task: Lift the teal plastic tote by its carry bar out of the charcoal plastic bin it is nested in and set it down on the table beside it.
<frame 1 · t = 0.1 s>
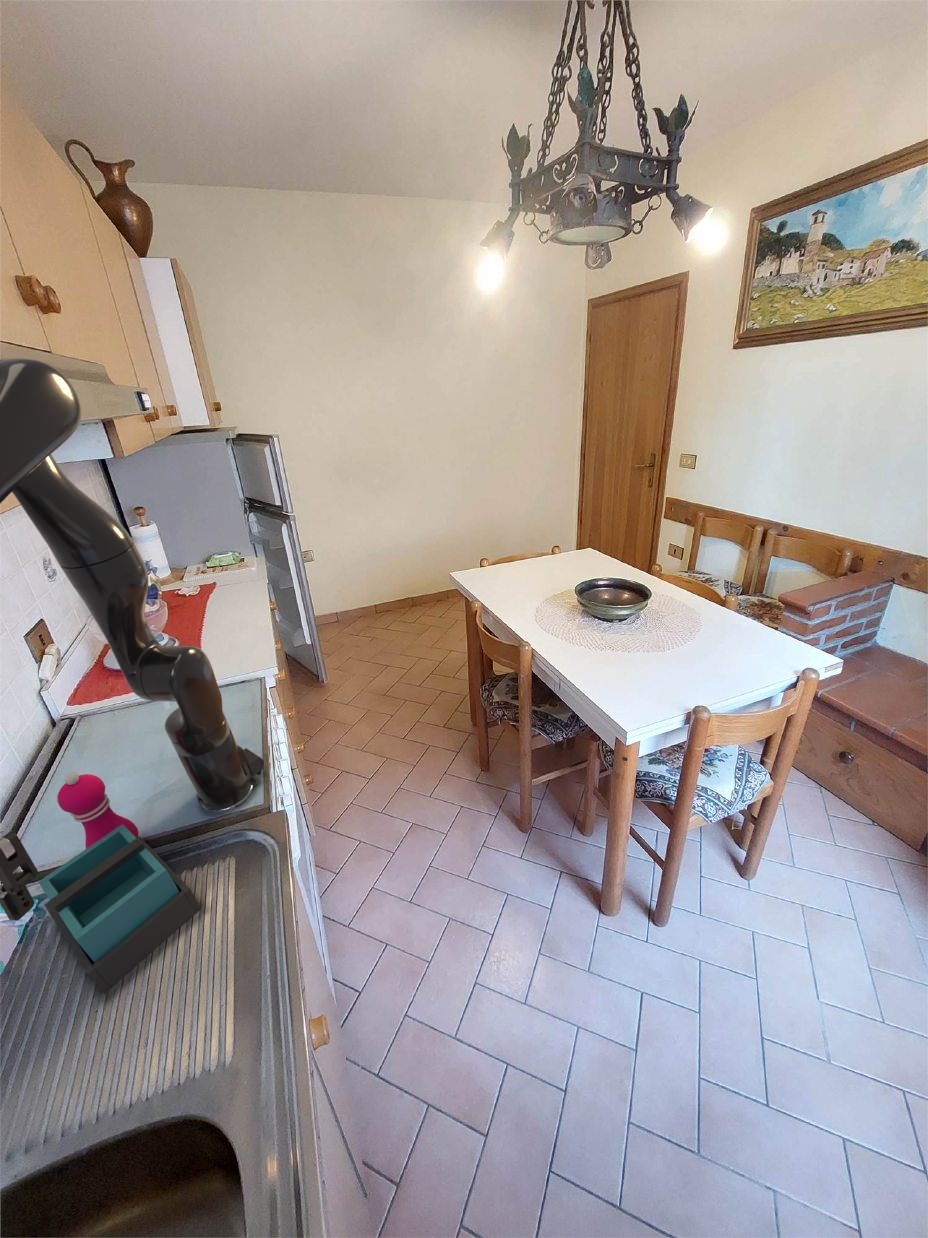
teal tote: (131, 916, 75), point 1 cm above the worktop, touching charcoal bin
charcoal bin: (133, 919, 75), on the worktop
pepper mill: (124, 858, 85), on the worktop
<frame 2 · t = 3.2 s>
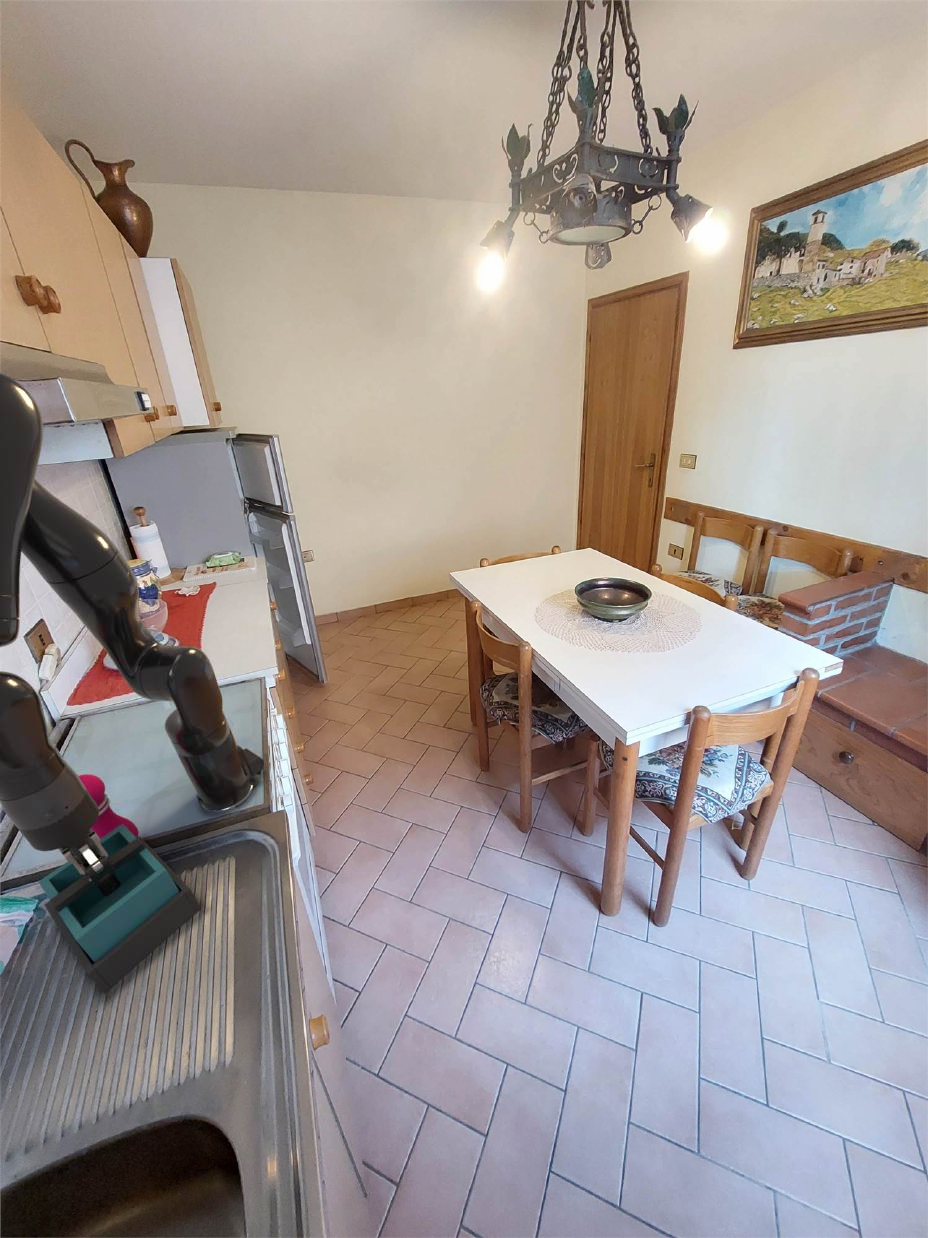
hand: (109, 885, 71), 8 cm above the worktop, tool pointing down, fingers closed on teal tote
teal tote: (131, 916, 75), point 1 cm above the worktop, touching charcoal bin, gripper
everything else where it was.
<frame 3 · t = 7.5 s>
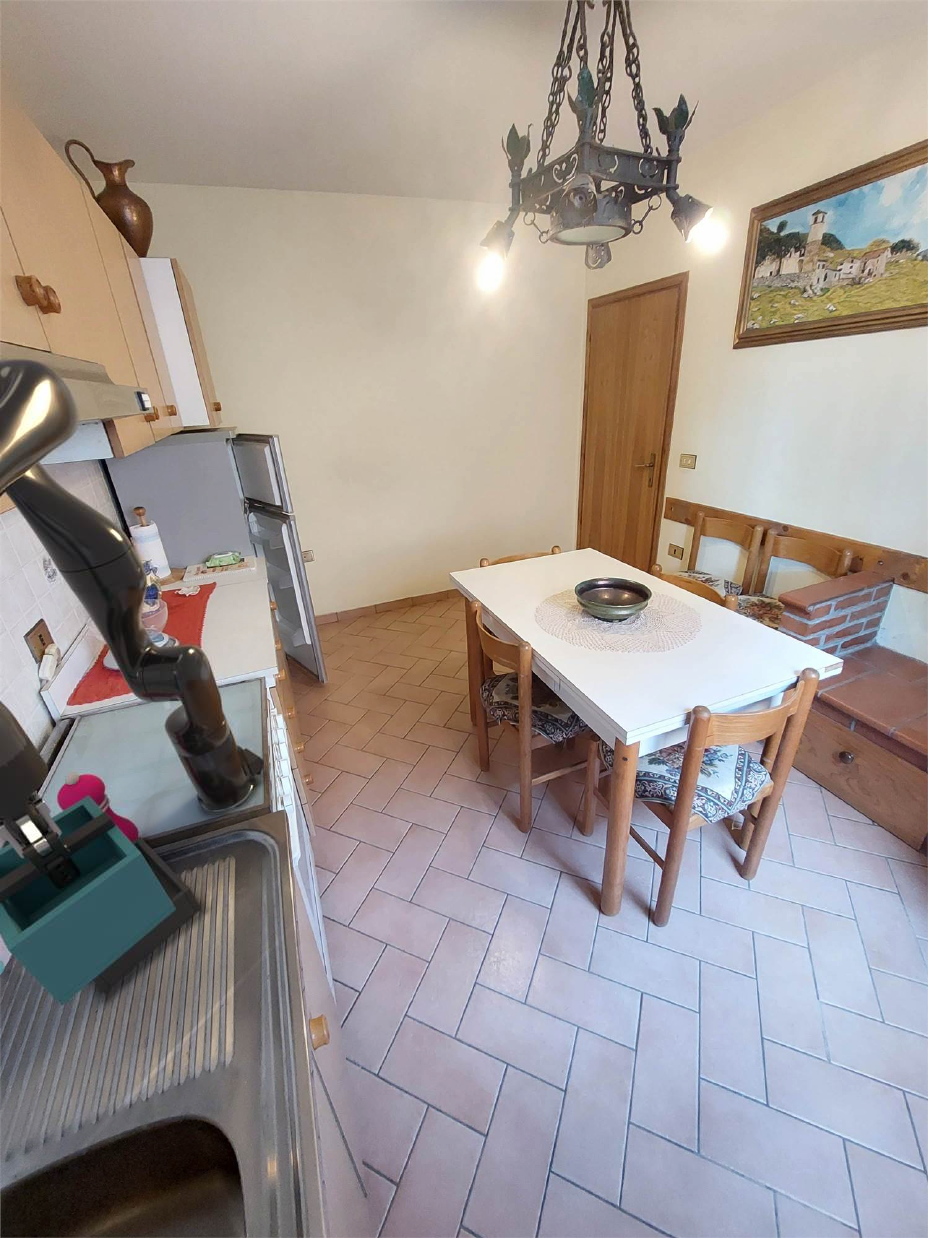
hand: (65, 874, 53), 26 cm above the worktop, tool pointing down, fingers closed on teal tote
teal tote: (96, 916, 56), point 19 cm above the worktop, touching gripper
everything else where it was.
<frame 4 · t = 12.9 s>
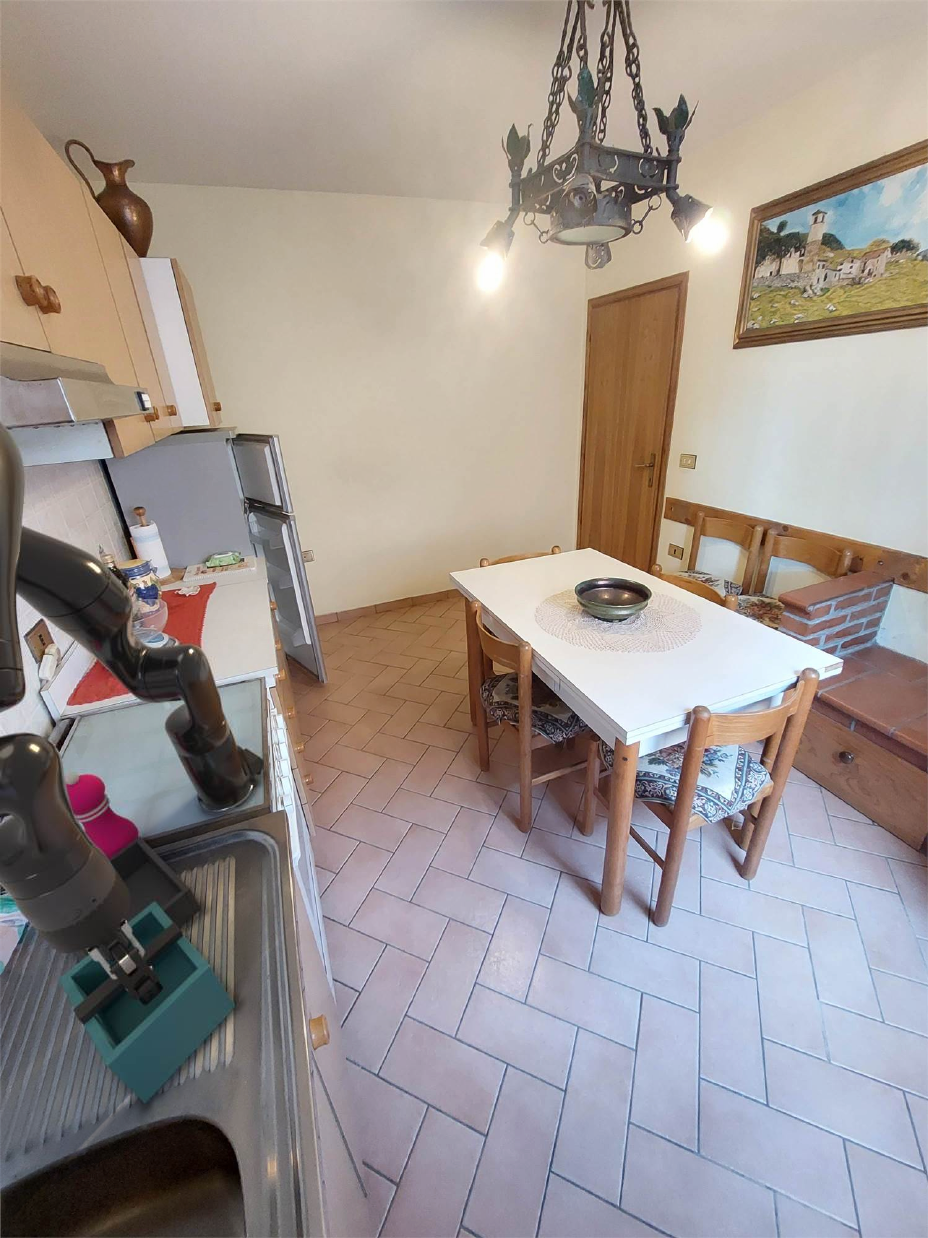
hand: (136, 973, 59), 10 cm above the worktop, tool pointing down, fingers open, 8 cm apart
teal tote: (165, 1013, 64), on the worktop
everything else where it was.
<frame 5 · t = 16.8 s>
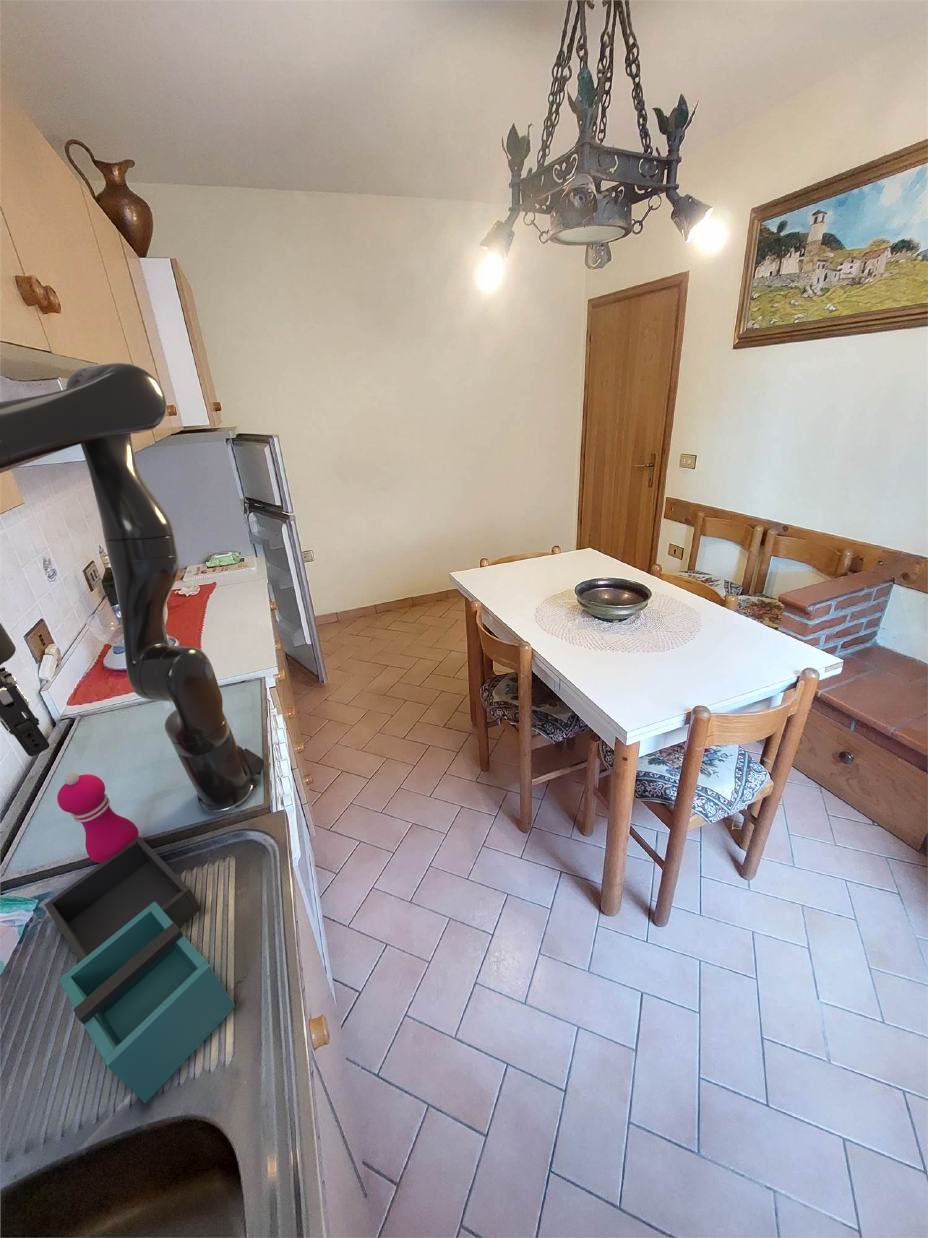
hand: (28, 739, 63), 33 cm above the worktop, tool pointing down, fingers open, 8 cm apart
nothing on the worktop moved.
at the end: teal tote inside the target area (0.1 cm from its centre), on the worktop; teal tote touching worktop; teal tote tilted 0° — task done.
